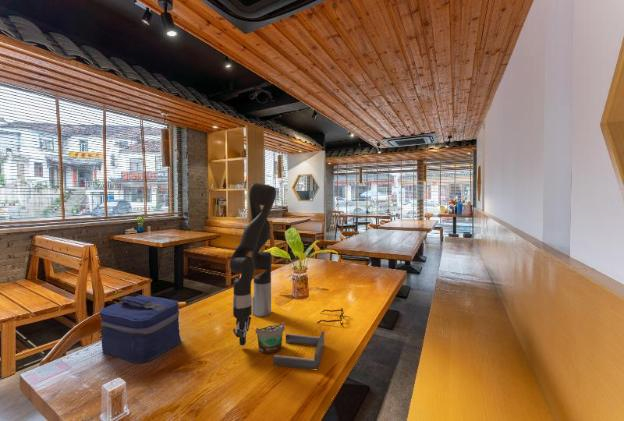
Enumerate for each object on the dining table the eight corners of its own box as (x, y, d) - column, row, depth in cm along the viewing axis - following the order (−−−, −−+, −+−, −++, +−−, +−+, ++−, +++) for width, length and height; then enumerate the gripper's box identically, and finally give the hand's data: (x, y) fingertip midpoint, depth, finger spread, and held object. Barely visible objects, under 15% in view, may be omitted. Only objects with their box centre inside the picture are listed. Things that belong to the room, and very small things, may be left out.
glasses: (341, 327, 135) (341, 317, 135) (315, 324, 137) (315, 315, 137) (344, 316, 148) (344, 306, 148) (319, 313, 150) (320, 304, 150)
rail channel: (273, 365, 104) (273, 349, 103) (286, 341, 121) (286, 327, 120) (317, 370, 101) (317, 354, 100) (324, 345, 118) (324, 331, 117)
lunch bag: (89, 351, 112) (87, 301, 111) (137, 327, 132) (136, 285, 131) (145, 367, 102) (143, 313, 101) (188, 339, 122) (187, 294, 121)
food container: (259, 359, 107) (259, 334, 107) (255, 351, 113) (255, 327, 112) (289, 351, 113) (289, 327, 112) (283, 344, 118) (283, 321, 118)
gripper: (240, 297, 121) (241, 335, 122) (226, 309, 108) (226, 352, 109) (257, 298, 120) (257, 337, 121) (244, 311, 107) (244, 354, 108)
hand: (242, 344), depth 115 cm, fingers closed
